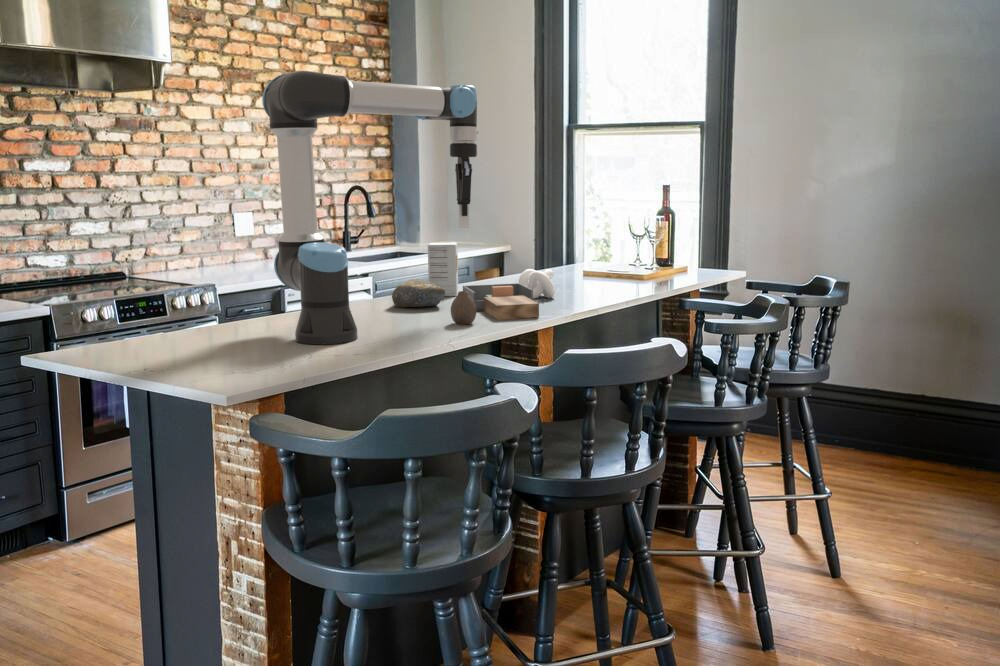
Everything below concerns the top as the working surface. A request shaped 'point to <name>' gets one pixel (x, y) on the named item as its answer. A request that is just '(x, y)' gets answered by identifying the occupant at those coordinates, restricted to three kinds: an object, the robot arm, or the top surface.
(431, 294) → the stone
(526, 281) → the white knot sculpture
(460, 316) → the vase
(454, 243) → the supplement box
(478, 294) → the box
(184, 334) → the top surface
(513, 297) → the wooden block
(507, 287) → the tile
